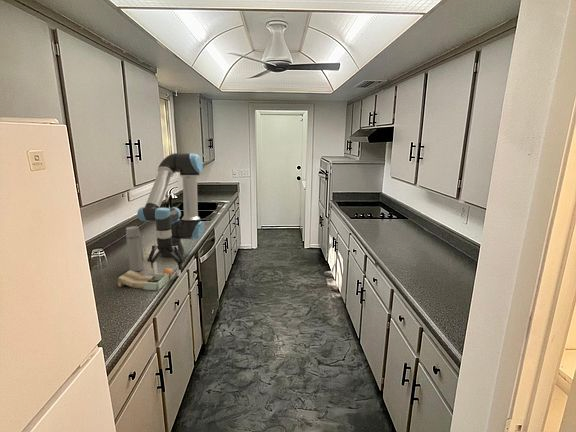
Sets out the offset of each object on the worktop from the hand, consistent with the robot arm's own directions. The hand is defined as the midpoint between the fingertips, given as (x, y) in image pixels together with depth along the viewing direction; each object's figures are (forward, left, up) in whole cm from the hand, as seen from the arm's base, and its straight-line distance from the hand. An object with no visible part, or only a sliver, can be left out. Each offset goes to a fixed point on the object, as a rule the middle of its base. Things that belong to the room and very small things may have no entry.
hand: (167, 274), depth 176 cm
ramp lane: (+10, -12, -1) cm, 15 cm away
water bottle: (-7, -21, -2) cm, 22 cm away
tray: (+10, -1, -1) cm, 10 cm away
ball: (0, 0, -1) cm, 1 cm away
